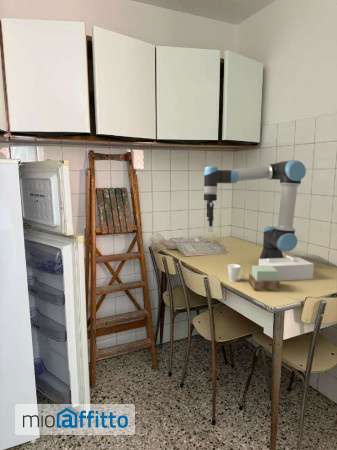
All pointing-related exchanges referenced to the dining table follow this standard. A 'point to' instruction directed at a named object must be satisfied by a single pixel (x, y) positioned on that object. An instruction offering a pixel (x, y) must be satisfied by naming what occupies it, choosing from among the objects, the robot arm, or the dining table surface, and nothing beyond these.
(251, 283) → the walnut block
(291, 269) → the elongated white prism
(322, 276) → the dining table surface
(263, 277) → the sage block
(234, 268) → the cup
